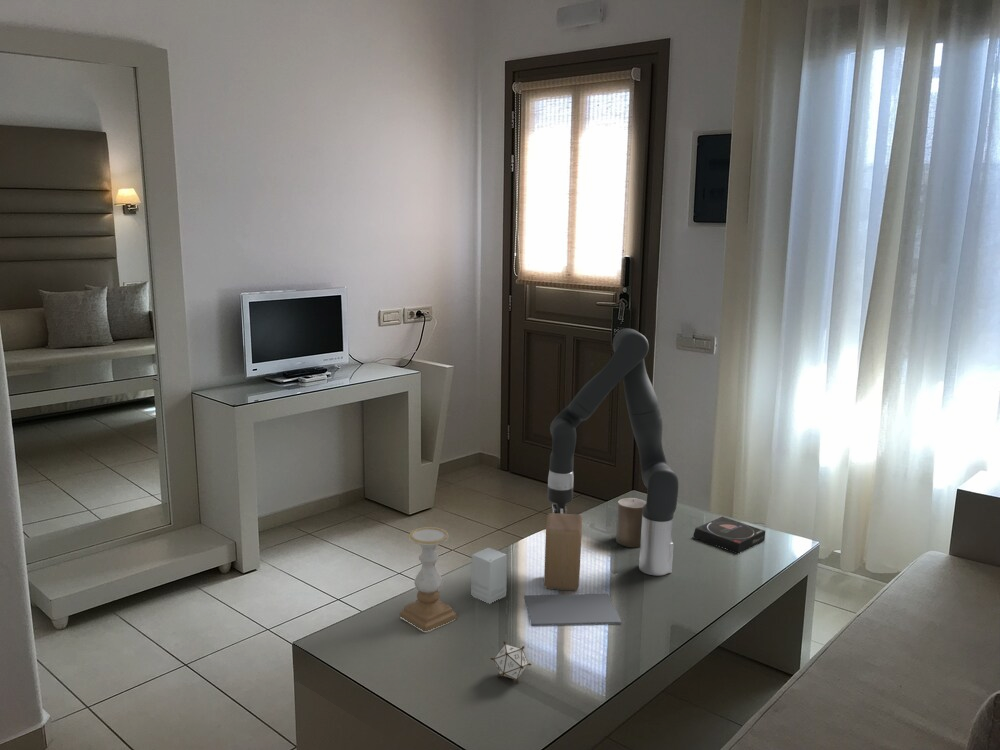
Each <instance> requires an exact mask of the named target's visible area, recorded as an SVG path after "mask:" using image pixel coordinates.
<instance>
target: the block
mask: <svg viewBox="0 0 1000 750" xmlns="http://www.w3.org/2000/svg"><path fill="white" fill-rule="evenodd" d="M545 527H546V528H545V543H544V544H545V547H544V576H543V577H544V578H543V586H544V588H545V589H547V590H560V591H573V592H574V591H575V592H576V591H578V590H579V587H580V571H581V557H582V556H581V554H582V553H581V552H582V540H583V539H582V536H583V535H582V534H583V533H582V532H583V530H582V529H583V518H582V515H580V514H575V513H567V514H559V513H553V512H550V513H547V516H546V525H545Z"/></svg>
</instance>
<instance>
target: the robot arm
mask: <svg viewBox="0 0 1000 750" xmlns="http://www.w3.org/2000/svg"><path fill="white" fill-rule="evenodd" d="M649 348H650V345H649V341H648V339H647V338H646V336H645V335H643V334H642V333H640V332H639V331H637V330H636V329H633V328H622V329H619V330H618V331H617V332H616V333H615V335H614V337H613V339H612V350H613V354H612V356H611V357H610V359H609V361H608V362H607V364H605V366H604V367H603V368H602V369H601V370H600V371H599V372H598V373H596V374H595V375H594V376H593V377H592V378H591V379H590V380H588V381H587V382H586V383H585V384H584V385H583V386H582V388H580V390H579V391H578V392H577V393H576V394H575V396H574V397H573V399H572V400H571V402H570V403H569V404H568V405H567V406H566V407H565V408H563V409H562V410H561V411H560V412H559V413H558V414H557V415H556V416H555V417H554V419H553V420H552V422H551V423H550V427H549V431H550V432H549V433H550V435H551V437H552V439H551V440H552V443H551V444H552V445H551V446H552V447H551V450H552V451H551V453H550V455H549V471H548V477H547V494H546V495H547V500H548V501H549V502H550V503H552V504H551V509H552V513H559V514H568V507H567V505H566V504H569V503H571V502H572V501H574V499H573V498H574V479H575V478H574V477H575V475H574V464H575V463H574V460H575V457H574V455H575V451H576V450H575V449H576V444H577V429H576V428H578V426H579V425H580V424H581V423H582V422H583V421H587V420H588V419H589V418H590V417H591V416H592V415H593V414H594V413H595V412H596V410H597V409H598V407H599V406H600V405H601V404H602V402H604V400H605V399H606V397H607V396H608V395H609V394H610V392H611V391H612V390H613V389H614V388H615V387H616V386H617V385H618V384H619V382H621V380H622V383H623V389H624V395H625V396H624V397H625V402H626V407H627V413H628V418H629V421H630V425H631V429H632V432H633V433H632V434H633V436H634V440H635V444H636V445H637V449H638V454H639V461H640V463H639V464H640V472H641V479H642V483H643V484H644V486H645V488H646V489H647V493H646V502H647V503H646V504H645V505H644V506H643V512H642V528H641V543H640V547H639V560H638V569H639V571H641V572H642V573H644V574H647V575H651V576H664V575H667V574H672V571H673V557H674V542H673V541H672V539H673V529H674V528H673V526H674V514H675V512H676V509H677V504H678V497H679V496H678V495H679V478H678V475H677V474H676V473H675V472H674V471H673V470H672V468H671V467H670V466H669V463H668V461H667V459H666V455H665V452H664V448H663V417H662V412H661V407H660V403H659V400H658V397H657V394H656V391H655V390H654V386H653V384H652V382H651V380H650V378H649V375H648V373H647V368H646V363H645V358H646V356H647V355H648V353H649Z"/></svg>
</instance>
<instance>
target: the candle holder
mask: <svg viewBox="0 0 1000 750" xmlns="http://www.w3.org/2000/svg"><path fill="white" fill-rule="evenodd" d="M408 538H409V541H411V542H412V543H413V544H415V545H419V546H420V547H421V553H420V554H419V555H418V560H419V561H420V563H421V568H420V570H419V571H418V572H417V574H416V575H415V579H414V586H415V588H416V589H417V590H418V591H417V592H416V598H417V600H415V601H413V602H411V603H409V604H407V605H405V606H403V609H402V610H401V611H400V612H399V618H400V617H402V618H404V619H405V620H407V621H408V622H410V623H412V624H413V625H415V626H416V627H418V628H420V629H422V630H423V631H428V630H431V629H433V628H436V627H438V626H441V625H443V624H446V623H448V622H450V621H452V620H454V619H456V620H457V612H455V611H453V608H452V606H450V605H449V604H447V603H445V602H444V601H442V600H441V599H440V597H441V594H440V591H439V590H440V588H442V586H443V578H442V576H441V574H440V572H439V571H438V569H437V568H436V563H437V561H439V559H440V558H439V555H438V554H437V552H436V549H437V547H438V545H441V544H443V543H446V542H447V540H448V539H449V533H448V531H446V530H445V529H443V528H440V527H434V526H423V527H418V528H416V529H413V530H411V532H410V533H409V537H408ZM446 625H447V624H446Z"/></svg>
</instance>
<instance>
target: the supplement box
mask: <svg viewBox="0 0 1000 750" xmlns="http://www.w3.org/2000/svg"><path fill="white" fill-rule="evenodd" d="M470 566H471V569H470V570H471V571H470V572H471V575H470V576H471V577H470V578H471V579H470V580H471V581H470V583H471V584H470V585H471V588H470V591H471V593H470V594H471V595H472V596H474V597H473V598H475V597H476V598H475V599H477V598H478V599H477V600H479V599H480V600H479V601H481V600H482V601H481V602H483V601H484V603H485V602H486V604H488V603H489V604H488V605H491V604H493V603H495V602H497V601H499V600H501V599H503V598H505V597H507V580H508V574H507V573H508V569H507V568H508V567H507V566H508V554H506V553H503V552H502V551H499V550H496V549H494V548H491V547H487V548H484V549H481V550H479V551H478V552H475V553H473V554H471V565H470ZM471 595H470V596H471ZM472 596H471V597H472ZM498 599H499V600H498ZM496 600H497V601H496ZM494 601H495V602H494ZM492 602H493V603H492ZM490 603H491V604H490Z"/></svg>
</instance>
